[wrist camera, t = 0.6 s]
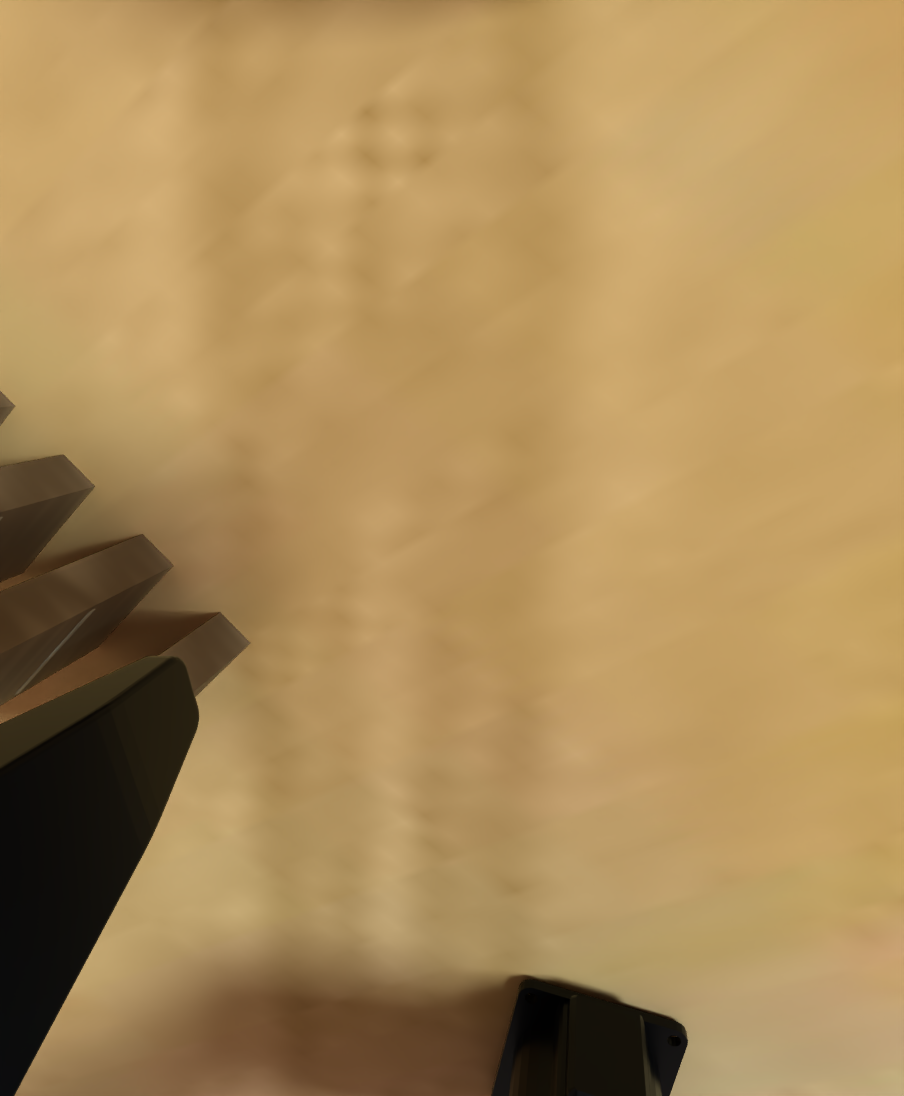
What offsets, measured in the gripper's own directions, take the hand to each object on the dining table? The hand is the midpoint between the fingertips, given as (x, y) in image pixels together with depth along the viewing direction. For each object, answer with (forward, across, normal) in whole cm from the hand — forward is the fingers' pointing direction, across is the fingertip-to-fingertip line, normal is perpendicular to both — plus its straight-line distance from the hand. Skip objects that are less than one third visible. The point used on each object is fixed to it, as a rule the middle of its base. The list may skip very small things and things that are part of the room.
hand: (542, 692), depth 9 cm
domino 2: (+15, +17, +7) cm, 24 cm away
